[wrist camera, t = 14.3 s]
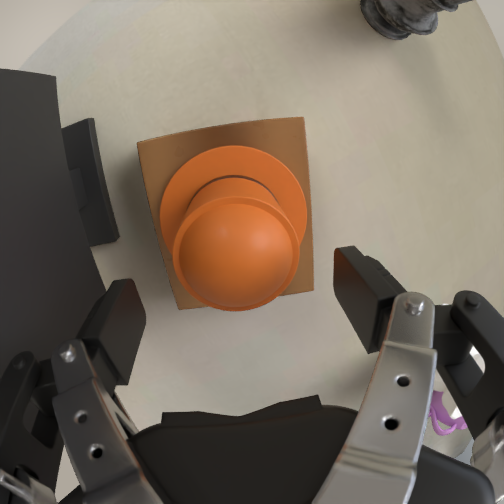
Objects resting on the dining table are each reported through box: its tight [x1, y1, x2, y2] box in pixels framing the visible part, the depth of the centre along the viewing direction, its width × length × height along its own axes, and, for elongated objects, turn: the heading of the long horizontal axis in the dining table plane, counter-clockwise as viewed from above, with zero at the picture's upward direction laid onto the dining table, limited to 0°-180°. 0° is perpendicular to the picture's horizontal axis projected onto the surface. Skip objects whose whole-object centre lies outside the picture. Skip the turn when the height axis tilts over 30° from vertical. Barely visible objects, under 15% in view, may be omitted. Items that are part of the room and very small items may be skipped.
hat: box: [160, 145, 307, 311], centre depth 14 cm, size 9×9×7 cm
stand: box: [137, 117, 314, 310], centre depth 19 cm, size 10×12×4 cm
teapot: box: [428, 390, 467, 436], centre depth 31 cm, size 20×14×12 cm
